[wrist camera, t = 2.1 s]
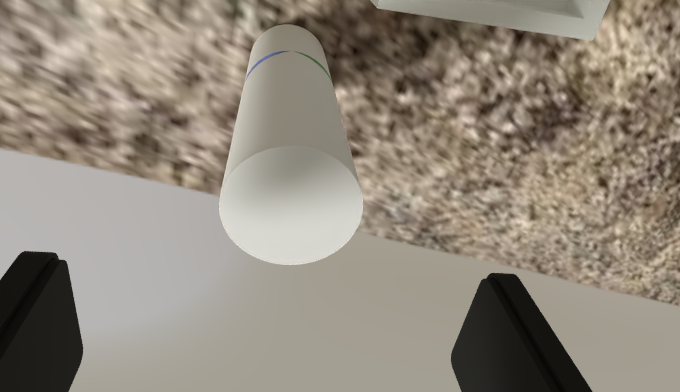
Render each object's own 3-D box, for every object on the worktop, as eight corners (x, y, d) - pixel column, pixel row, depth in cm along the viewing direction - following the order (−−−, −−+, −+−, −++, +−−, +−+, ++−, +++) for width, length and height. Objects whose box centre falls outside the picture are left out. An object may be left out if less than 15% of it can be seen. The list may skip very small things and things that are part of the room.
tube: (321, 102, 28) (352, 267, 15) (248, 95, 27) (219, 262, 15) (330, 29, 26) (374, 151, 13) (251, 19, 25) (218, 139, 12)
